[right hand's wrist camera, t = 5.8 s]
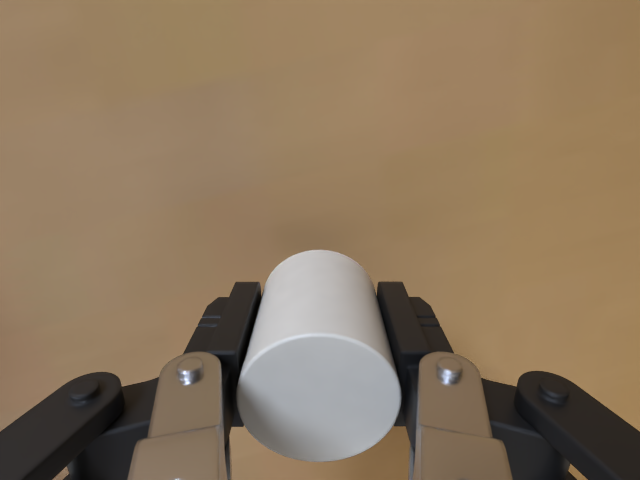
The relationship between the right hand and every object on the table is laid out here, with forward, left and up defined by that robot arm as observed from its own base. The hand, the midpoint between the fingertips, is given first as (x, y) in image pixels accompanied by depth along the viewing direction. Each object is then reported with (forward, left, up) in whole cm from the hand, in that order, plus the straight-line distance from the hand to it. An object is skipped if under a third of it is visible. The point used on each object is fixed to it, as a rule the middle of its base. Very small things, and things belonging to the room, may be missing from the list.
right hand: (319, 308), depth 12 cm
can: (0, 0, -1) cm, 1 cm away
